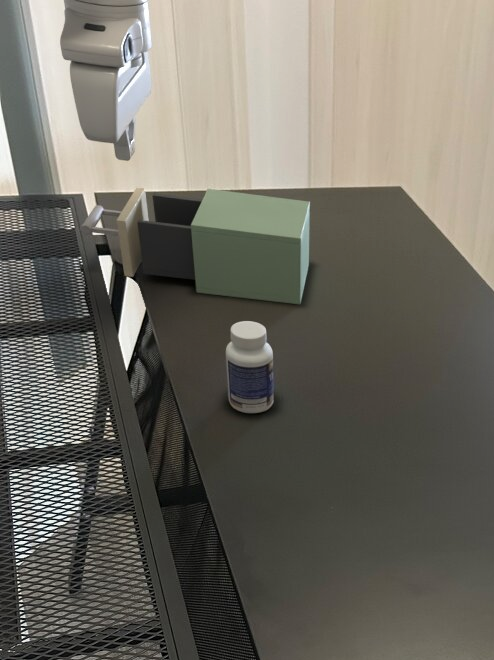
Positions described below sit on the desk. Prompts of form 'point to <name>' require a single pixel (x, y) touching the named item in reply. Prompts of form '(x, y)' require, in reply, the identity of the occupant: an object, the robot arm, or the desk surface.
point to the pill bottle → (249, 368)
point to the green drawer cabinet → (251, 246)
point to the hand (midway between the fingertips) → (126, 156)
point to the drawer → (152, 234)
